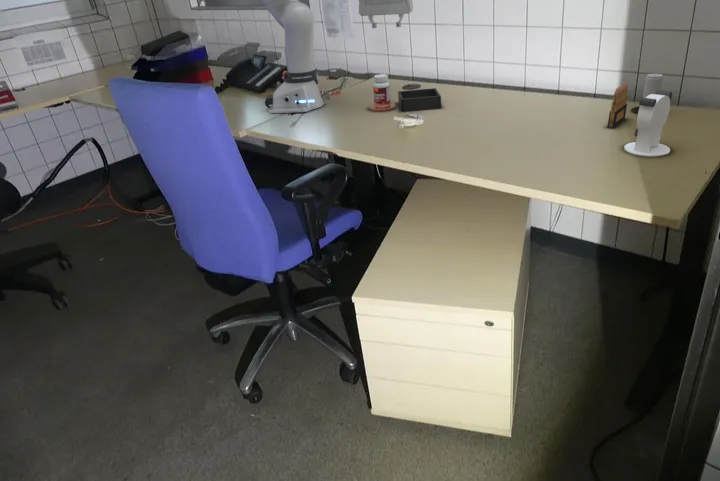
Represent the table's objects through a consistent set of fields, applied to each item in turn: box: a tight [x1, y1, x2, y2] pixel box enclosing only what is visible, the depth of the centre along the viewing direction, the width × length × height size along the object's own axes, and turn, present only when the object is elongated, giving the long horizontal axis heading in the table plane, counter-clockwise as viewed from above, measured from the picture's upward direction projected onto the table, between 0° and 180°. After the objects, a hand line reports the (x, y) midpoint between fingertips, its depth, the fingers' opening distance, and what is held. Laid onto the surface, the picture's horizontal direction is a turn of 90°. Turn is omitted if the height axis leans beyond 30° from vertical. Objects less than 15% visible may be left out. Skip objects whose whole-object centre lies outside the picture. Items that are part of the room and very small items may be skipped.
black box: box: [397, 87, 442, 112], centre depth 207 cm, size 15×13×4 cm
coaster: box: [368, 102, 396, 113], centre depth 209 cm, size 10×10×1 cm
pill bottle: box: [372, 73, 391, 108], centre depth 206 cm, size 6×6×11 cm
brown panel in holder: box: [607, 81, 629, 129], centre depth 169 cm, size 11×2×12 cm, turn 140°
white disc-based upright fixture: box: [623, 89, 673, 158], centre depth 147 cm, size 12×11×15 cm
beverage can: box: [642, 73, 664, 98], centre depth 176 cm, size 5×5×12 cm
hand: (386, 27), depth 207 cm, fingers open, 8 cm apart
